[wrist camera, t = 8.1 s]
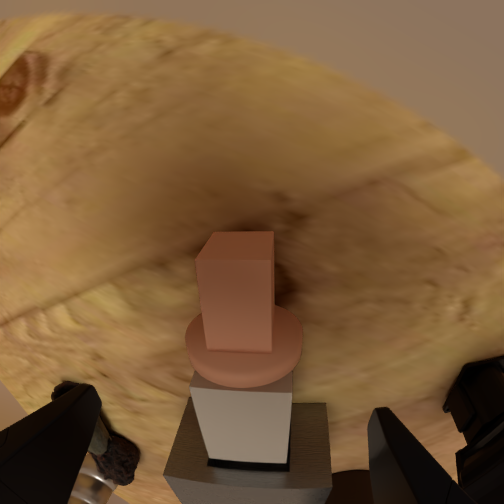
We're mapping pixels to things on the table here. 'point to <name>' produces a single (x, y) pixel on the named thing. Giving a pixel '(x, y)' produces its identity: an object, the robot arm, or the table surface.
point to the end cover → (242, 350)
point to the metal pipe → (107, 448)
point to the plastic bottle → (91, 485)
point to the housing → (254, 465)
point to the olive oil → (351, 488)
